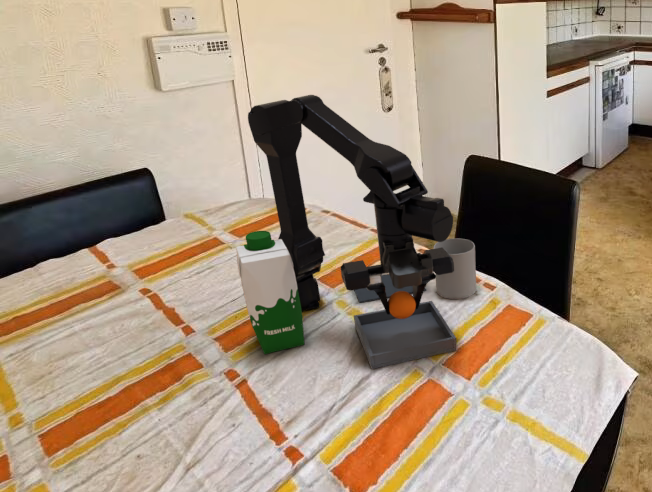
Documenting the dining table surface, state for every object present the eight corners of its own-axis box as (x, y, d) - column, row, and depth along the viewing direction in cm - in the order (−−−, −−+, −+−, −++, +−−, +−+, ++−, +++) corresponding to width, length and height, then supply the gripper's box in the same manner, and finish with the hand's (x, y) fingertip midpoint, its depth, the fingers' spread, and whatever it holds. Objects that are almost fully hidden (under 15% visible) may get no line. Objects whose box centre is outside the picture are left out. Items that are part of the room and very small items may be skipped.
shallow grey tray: (371, 369, 106) (370, 356, 104) (355, 327, 118) (353, 315, 117) (456, 350, 111) (456, 337, 110) (432, 312, 123) (431, 300, 122)
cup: (470, 300, 127) (468, 256, 123) (431, 297, 129) (428, 252, 124) (480, 282, 135) (478, 239, 130) (443, 279, 136) (440, 237, 131)
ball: (392, 326, 109) (389, 301, 107) (386, 313, 113) (383, 289, 111) (420, 320, 111) (418, 296, 109) (412, 308, 115) (410, 284, 113)
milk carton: (300, 324, 119) (282, 226, 110) (310, 346, 112) (292, 243, 103) (252, 335, 116) (228, 234, 106) (259, 359, 108) (235, 253, 99)
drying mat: (359, 303, 127) (359, 301, 126) (349, 279, 136) (349, 277, 136) (426, 290, 131) (426, 289, 131) (411, 268, 141) (411, 267, 141)
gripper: (346, 256, 95) (358, 343, 102) (462, 238, 101) (466, 321, 108) (334, 231, 104) (346, 313, 111) (442, 216, 110) (446, 294, 117)
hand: (402, 311), depth 112 cm, fingers closed on ball, 5 cm apart
